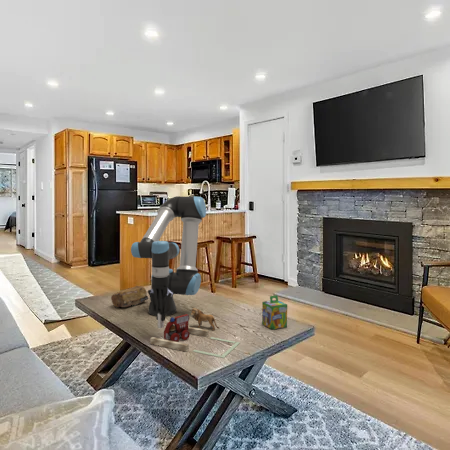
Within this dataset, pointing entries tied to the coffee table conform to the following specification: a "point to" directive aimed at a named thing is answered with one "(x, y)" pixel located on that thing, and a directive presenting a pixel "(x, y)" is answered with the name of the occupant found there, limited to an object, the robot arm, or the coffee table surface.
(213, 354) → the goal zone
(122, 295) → the petrified wood
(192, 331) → the lane walls
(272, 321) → the chalk box
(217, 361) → the coffee table surface
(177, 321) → the toy fire truck
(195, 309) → the lion figurine
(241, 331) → the coffee table surface
